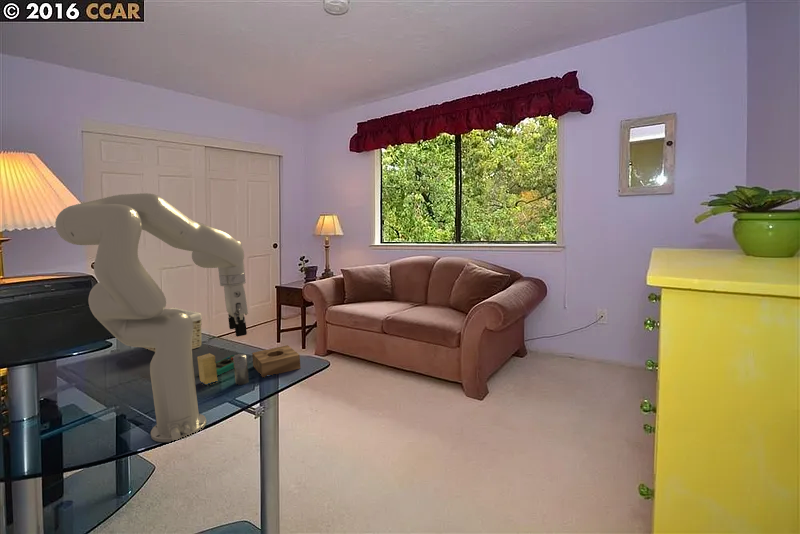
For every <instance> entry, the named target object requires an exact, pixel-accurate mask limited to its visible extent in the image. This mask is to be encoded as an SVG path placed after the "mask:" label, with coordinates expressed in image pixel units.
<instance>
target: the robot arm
mask: <svg viewBox="0 0 800 534" xmlns="http://www.w3.org/2000/svg"><path fill="white" fill-rule="evenodd" d="M54 225H55V226H54V227H55V230H56V232H57V234H58V236H59V237H60V238H61V239H62V240H63V241H65V242H67V243H69V244H72V245H76V246H98V247H97V251H96V253H95V258H94V264H93V273H94V275H95V277H96V279H97V281H98V282H97V283H95V285H93V286H92V288H91V290H90V291H89V295H88V300H87V301H88V305H89V306H88V307H89V310H90V312H91V313H92V315H93V316H94V318H95V319H97V321H98V322H99V323H100V324H101V325H102V326H103V327H104V328H105V329H106V330H107V331H108V332H109V333H110V334H111V335H112V336H113V337H115V339H116V340H117V341H119V342H120V343H122V344H123V345H125V346H128V347H132V348H133V347H134V348H144V347H150V348H155V349H156V351H155V352H154V354H153V356H152V359H151V361H150V363H149V376H150V381H151V382H150V383H151V389H152V398H153V405H154V413H155V420H156V421H155V422H156V424H155V425H154V426H153V427H152V428H151V430H150V437H151V439H152V441H155V442H157V443H172V442H171V441H173V442H177V441H181V440H185V439H187V438H190V437H192V436H194V435H196V434H198V433H199V432H200V431H202V430H203V429H204V428H205V426H207V418H206V416H205V415H203V414H201V413H200V412H199V406H198V397H197V388H196V380H195V370H194V361H193V349H192V337H193V321H192V319H191V317H190V316H189V315H188V314H187V313H185V312H183V311H180V310H176V309H170V308H166V306H167V299H166V296H165V294H164V292H163V291H162V289H161V288H160V286H159V285H158V284H157V283H156V281H155V280H154V279H153V277H152V276H151V275H150V273H149V272H148V271H147V269H146V268H145V267H144V265H143V264H142V262H141V261H140V257H139V253H138V252H139V251H138V250H139V243H140V239H141V235H142V231H145V232H146V233H149V234H150V235H152V236H154V237H155V238H157V239H159V240H161V242H164V243H166V244H167V245H168V246H170V247H172V248H175V249H179V250H183V251H187V252H191V259H192V262H193V263H194V264H195V265H196V266H197V267H200V268H204V269H205V268H206V269H207V268H208V269H215V268H216V269H218V271H217V272H218V278H219V280H218V281H219V285H220V287H223V291H224V301H225V309H226V312H227V315H228V317H227V318H228V327H229V330H234V333H235V337H237V338H238V337H243V336H247V335H248V332H247V331H248V330H247V322H246V319H245V316H247V315H248V314H249V309H248V303H247V299H246V297H247V296H246V291H245V287H244V285H245V284H246V274H245V273H246V272H245V264H244V259H245V252H244V249H243V245H242V243H241V241H240V240H237V239H236V238H234V237H233V236H231V235H230V234H229V233H227V232H225V231H223V230H220V229H219V228H216V227H212V226H209V225H207V224H204V223H201V222H198V221H195V220H193V219H191V218H190V217H188V216H187V215H186V214H185V213H183V212H182V211H180V210H179V209H178V208H176V207H175V206H174V205H172V204H171V203H170V202H168V201H167V200H166V199H164V198H163V197H161V196H159V195H158V194H154V193H148V192H147V193H146V192H144V193H141V192H140V193H124V194H116V195H111V196H107V197H103V198H98V199H94V200H89V201H86V202H82V203H78V204H72V205H69V206H67V207H65V208H63V209H62V210H61V211H60V212H59V213H58V214H57V216H56V218H55V223H54ZM201 428H202V429H201ZM199 430H200V431H199ZM198 431H199V432H198ZM195 432H196V433H195ZM192 433H194V434H192ZM190 434H191V435H190ZM187 435H189V436H187ZM185 436H186V437H185ZM182 437H184V438H182ZM180 438H181V439H180ZM178 439H179V440H178ZM174 440H176V441H174Z"/></svg>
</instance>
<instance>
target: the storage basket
mask: <svg viewBox="0 0 800 534" xmlns="http://www.w3.org/2000/svg"><path fill="white" fill-rule="evenodd" d="M169 309H176V310H180V311H183V312H185V313H187V314H188V315H189V316H190V317H191V319H192V321H193V337H192V350H194V349H197V348H201V346H202V320H203V316H202V313H201V312H197V311H192V310H188V309H187V310H186V309H182V308H177V307H170V308H169ZM143 348H144V349H145V350H147V349H148V351H151V352H154V353H155V351H156V349H155V348H150V347H143Z"/></svg>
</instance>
